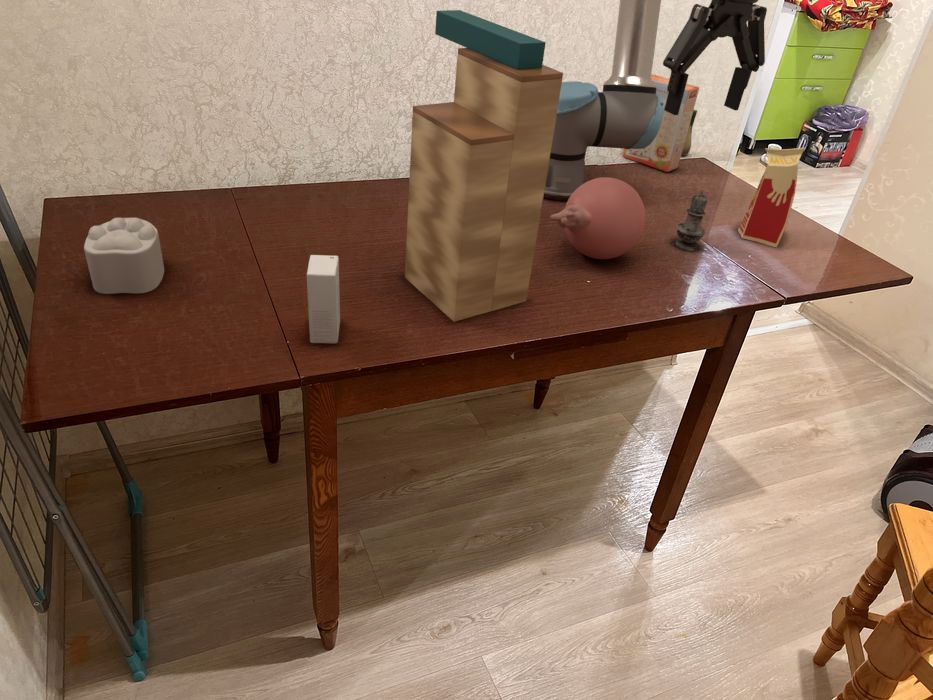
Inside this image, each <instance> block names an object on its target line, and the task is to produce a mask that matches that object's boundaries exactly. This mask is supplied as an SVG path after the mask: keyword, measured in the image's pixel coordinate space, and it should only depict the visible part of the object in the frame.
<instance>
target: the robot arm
mask: <svg viewBox="0 0 933 700" xmlns="http://www.w3.org/2000/svg"><path fill="white" fill-rule="evenodd" d="M758 2H759V0H711V1H710V4H709V5H708V7H707V6H705V5H703V4H700V3H695V4H693V6H692V9H691V11H690V14H689V17H688V20H687V21H686V23H685V24H684V25H683V26H684V27H683V28H682V29H681V31H680V33H679V35H678V36H677V38H676V39H675V41H674V42H673V44H672V46H671V48H670V49H669V51H668V53H667V55H666V56H665V57H664V60H663V61H662V66H663V67H666V68H667V69H669V70H670V74H669V75H670V76H669V78H668V79H669V83H668V87H667V91H668V92H669V93H668V97H667V101H666V105H665V108H664V107H663V104H664V103H663V99H662V98H661V97H660V96H658V95H656V89H657V86H656V85H655V83H654V82H653V81H652V79H651V74H653V65H654V59H655V50H656V44H657V43H656V42H657V37H658V28H659V19H660V11H661V6H662V0H619V5H618V15H617V22H616V23H617V24H616V33H615V41H614V49H613V58H612V68H611V75H610V77H609V78H608V79H606V81H604V82H603V84H602V85H603V86H602V91H599V89H598V86H597V85H595V84H593V83H590V82H582V81H574V80H573V81H571V80H570V81H562V85H561V91H560V97H559V103H558V109H557V115H556V122H555V128H554V134H553V140H552V146H551V152H550V158H549V165H548V171H547V177H546V183H545V189H544V195H543V199H548V200H553V201H568V199H569V198H570V196H571V195H572V193H573V192H574V191H575V190H576V189H577V188H578V187H580V186H581V185H582V184H584V183H586V182H587V181H588V176H587V167H586V161H585V160H586V154H587V149H588V147H589V148H590V147H593V148H607V149H609V148H611V149H623V150H624V149H628V150H629V149H642V148H646V147H647V146H649V145H650V144H651V143H652V142H653V140H654V139H655V137H656V136H657V134H658V131H659V129H660V126H661V123H662V119H663V113H664V110H665V111H667V112H669V113H671V114H673V115H678V113H679V110H680V106H681V102H682V98H683V95H684V91H685V87H686V84H688V83H687V82H688V79H689V76H690V74H689V73H687V71H688V70H689V69H690V68H691V66H692V65H693V64H694V63H695V62H696V60H697V59H698V58H699V57H700V55H702V53H703V52H704V51H705V50H706V49H707V47H708V46H709V45H710V44H711V43H712V42H714V41H716V40H717V39H718V38H725V37H728V38H731V39H732V42H733V46H734V49H735V53H736V57H737V59H738V63H739V66H740V67H739V66H735V68H734V71H733V74H732V78H731V81H730V84H729V87H728V90H727V94H726V98H725V100H724V104H723V106H724V107H727V108H728V109H731V110H733V111H739V109H740V105H741V102H742V99H743V96H744V92H745V90H746V89H747V87H748V85H749V82H750V79H751V75H752V72H754V73H757V72H758V71H759V69H760V67H763V66H764V64H765V63H766V51H765V46H766V45H765V20H766V16H767V13H768V12H767V11H768V9H767V7H766V6H762V5H759V4H756V3H758Z"/></svg>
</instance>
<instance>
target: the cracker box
mask: <svg viewBox="0 0 933 700" xmlns="http://www.w3.org/2000/svg"><path fill="white" fill-rule="evenodd" d="M651 79H652V81H653V82H654V83H655V85H656V86H657V89H656V95H658V96H660V97H661V98H662V99H663V103H664V104H663V107H664V108H665V105H666V101H667V97H668V93H669V92H668V91H667V87H668V83H669V79H670V78H669V77H668V78H667V77H664V76H660V75H658V74H657V75H656V74H653V73H652V74H651ZM699 91H700V86H697V85H693V84H689V83H686V87H685V91H684V95H683V98H682V102H681V106H680V110H679V113H678V115H673V114H671V113H669V112H667V111H665V110H664V113H663V119H662V123H661V126H660V129H659V131H658V134H657V136H656V137H655V139H654V140H653V142H652V143H651V144H650V145H649V146H647V147H646V148H642V149H629V150H628V149H624V148H623V151H622V157H623V158H626V159H628V160H631V161H634V162H637V163H640V164H642V165H646V166H648V167H652V168H654V169H656V170H659V171H663V172H665V173H669V172H672V171H674V170H677V169H678V168H679V166H680V162H681V158H682V156H683V155H682V151H683V147H684V144H685V140H686V136H687V132H688V129H689V125H690V121H691V117H692V114H693V110H695V106H696V102H697V98H698V94H699Z"/></svg>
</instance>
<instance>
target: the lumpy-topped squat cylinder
mask: <svg viewBox="0 0 933 700" xmlns="http://www.w3.org/2000/svg"><path fill="white" fill-rule="evenodd" d="M83 250H84V254H85V259H86V263H87V267H88V272H89V275H90V279H91V283H92V288H93V290H94V291H95V292H97V293H99V294H104V295H111V294H112V295H113V294H145V293H148V292H151V291H153V290H155V289H156V288H157V287H158V286H159V285H160V284H161V282H162V280H163V277H164V274H165V265H164V259H163V252H162V246H161V241H160V234H159V231H158V229H157V228H156V227H155V225H153V224H152V223H151V222H149V221H148V220H145V219H142V218H140V217H139V218H138V217H113V218H112V219H111V220H110V221H106V222H104V223H101V224H99V225H93V226H91V227H90V229H89V230H88V235H87V237H86V239H85V242H84V244H83Z"/></svg>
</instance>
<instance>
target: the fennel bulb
mask: <svg viewBox="0 0 933 700" xmlns="http://www.w3.org/2000/svg"><path fill="white" fill-rule="evenodd" d="M697 114H698V109H694V110H693V114H692V117H691V121H690V125H689V129H688V132H687V136H686V140H685V144H684V147H683V151H682V155H681V156H686V155H688V154H689V153H690V150H691V148H692V136H693V135H692V134H693V127H694V123H695V120H696V118H697V117H696V116H697Z"/></svg>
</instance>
